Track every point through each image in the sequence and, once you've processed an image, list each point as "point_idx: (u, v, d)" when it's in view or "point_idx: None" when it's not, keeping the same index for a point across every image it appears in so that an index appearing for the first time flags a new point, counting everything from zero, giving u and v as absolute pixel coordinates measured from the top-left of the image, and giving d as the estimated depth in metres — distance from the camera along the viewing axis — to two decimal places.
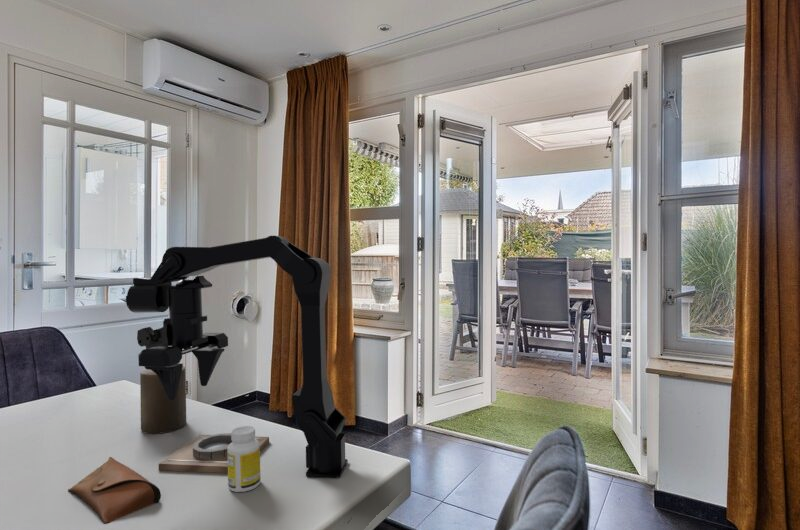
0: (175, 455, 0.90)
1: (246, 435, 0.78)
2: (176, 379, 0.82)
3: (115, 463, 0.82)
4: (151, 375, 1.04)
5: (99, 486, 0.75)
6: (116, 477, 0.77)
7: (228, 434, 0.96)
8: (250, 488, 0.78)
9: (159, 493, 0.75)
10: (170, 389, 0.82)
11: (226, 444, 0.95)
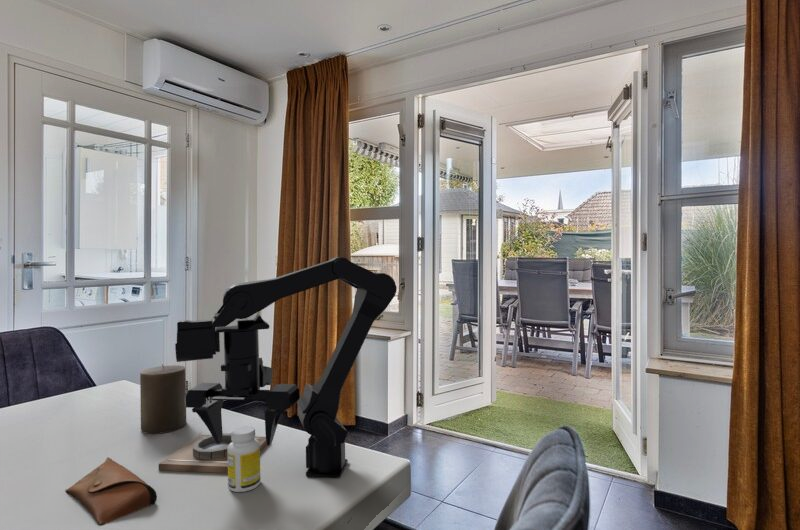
0: (175, 455, 0.90)
1: (246, 435, 0.78)
2: (206, 423, 0.78)
3: (112, 464, 0.81)
4: (151, 375, 1.04)
5: (96, 487, 0.75)
6: (112, 478, 0.76)
7: (228, 434, 0.96)
8: (250, 488, 0.78)
9: (155, 494, 0.75)
10: None
11: (226, 444, 0.95)
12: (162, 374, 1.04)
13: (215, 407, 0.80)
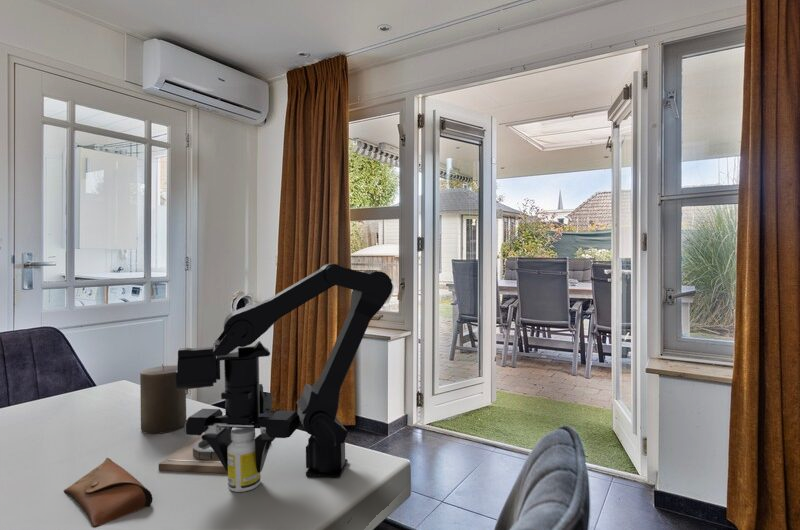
0: (175, 455, 0.90)
1: (246, 435, 0.78)
2: (215, 451, 0.78)
3: (111, 464, 0.81)
4: (151, 375, 1.04)
5: (92, 488, 0.75)
6: (109, 479, 0.76)
7: None
8: (250, 488, 0.78)
9: (151, 497, 0.74)
10: None
11: None
12: (162, 374, 1.04)
13: (224, 434, 0.80)
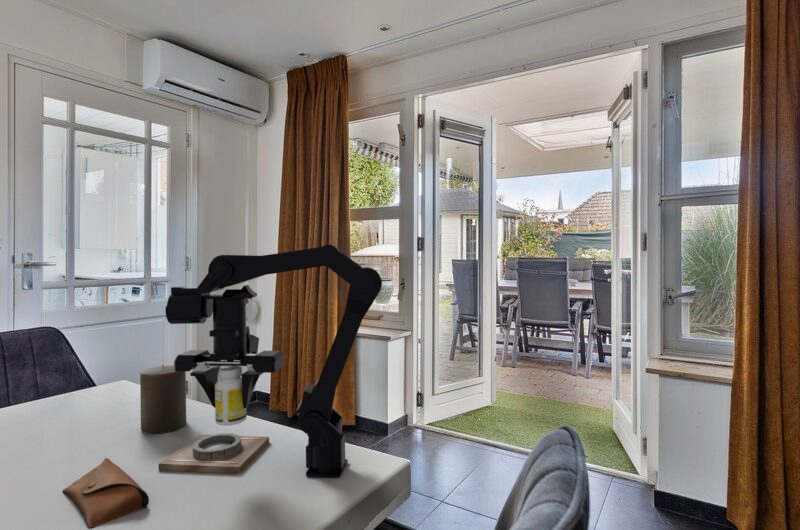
0: (175, 455, 0.90)
1: (233, 372, 0.82)
2: (203, 387, 0.82)
3: (109, 465, 0.81)
4: (151, 375, 1.04)
5: (89, 489, 0.74)
6: (106, 480, 0.76)
7: (228, 434, 0.96)
8: (237, 422, 0.82)
9: (147, 498, 0.74)
10: None
11: (226, 444, 0.95)
12: (162, 374, 1.04)
13: (212, 372, 0.84)
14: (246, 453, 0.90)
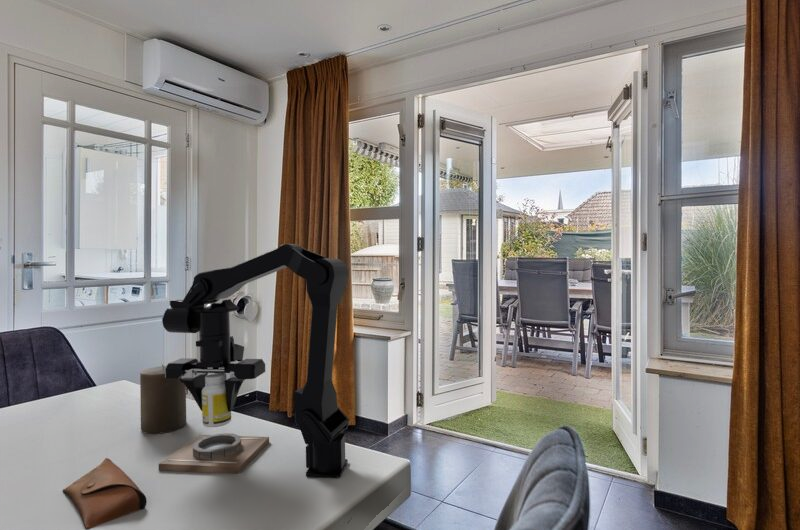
0: (175, 455, 0.90)
1: (218, 378, 0.90)
2: (191, 392, 0.90)
3: (109, 465, 0.81)
4: (151, 375, 1.04)
5: (88, 489, 0.74)
6: (105, 480, 0.75)
7: (228, 434, 0.96)
8: (221, 424, 0.90)
9: (145, 499, 0.73)
10: None
11: (226, 444, 0.95)
12: (162, 374, 1.04)
13: (199, 379, 0.92)
14: (246, 453, 0.90)
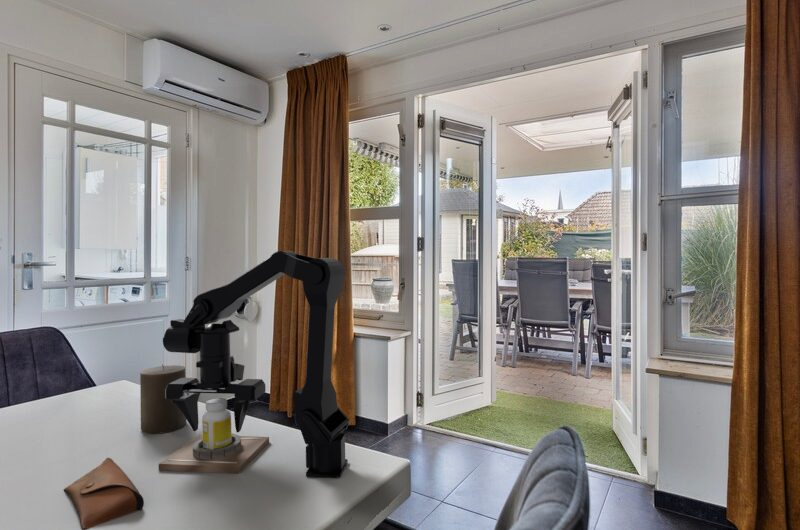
0: (175, 455, 0.90)
1: (218, 405, 0.90)
2: (183, 413, 0.91)
3: (109, 465, 0.81)
4: (151, 375, 1.04)
5: (87, 489, 0.74)
6: (104, 481, 0.75)
7: None
8: None
9: (142, 500, 0.73)
10: None
11: None
12: (162, 374, 1.04)
13: (192, 399, 0.92)
14: (246, 453, 0.90)
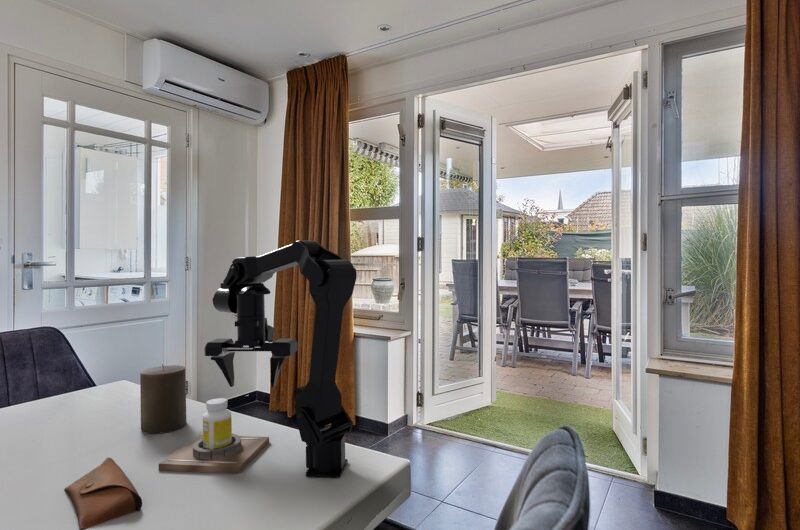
0: (175, 455, 0.90)
1: (219, 404, 0.90)
2: (221, 369, 0.97)
3: (109, 465, 0.81)
4: (151, 375, 1.04)
5: (86, 489, 0.74)
6: (103, 481, 0.75)
7: None
8: None
9: (140, 501, 0.73)
10: None
11: None
12: (162, 374, 1.04)
13: (228, 357, 0.99)
14: (246, 453, 0.90)
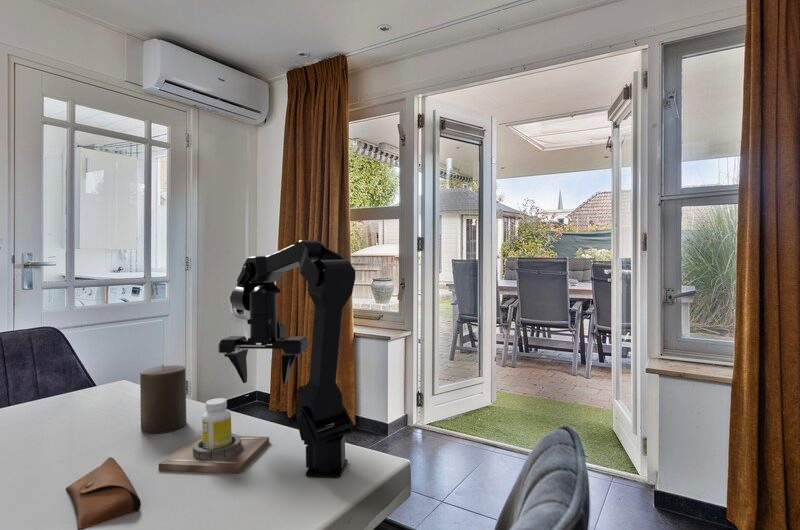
0: (175, 455, 0.90)
1: (218, 405, 0.90)
2: (235, 366, 1.00)
3: (110, 465, 0.81)
4: (151, 375, 1.04)
5: (86, 488, 0.75)
6: (103, 481, 0.75)
7: None
8: None
9: (139, 502, 0.73)
10: None
11: None
12: (162, 374, 1.04)
13: (242, 354, 1.01)
14: (246, 453, 0.90)
